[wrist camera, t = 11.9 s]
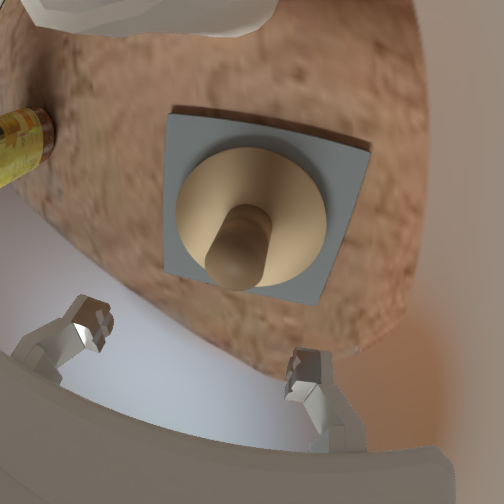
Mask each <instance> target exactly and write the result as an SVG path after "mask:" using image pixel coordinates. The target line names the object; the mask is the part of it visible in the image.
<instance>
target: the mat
mask: <svg viewBox="0 0 504 504" xmlns="http://www.w3.org/2000/svg"><path fill="white" fill-rule="evenodd" d="M237 147H259V148H265V149H269V150H272V151H275V152H278V153H280V154H283V155H285V156H286V157H288V158H290V159H292V160H293V161H295V162H296V163H297V164H298V165H300V166H301V167H302V168H303V169H304V170H305V171H306V172H307V173H308V174H309V175H310V176H311V178H312V179H313V181H314V182H315V183H316V185H317V187H318V189H319V191H320V193H321V196H322V199H323V202H324V207H325V212H326V222H327V227H326V235H325V239H324V243H323V245H322V248H321V250H320V252H319V254H318V255H317V257H316V259H315V260H314V261H313V262H312V263H311V265H310V266H309V267H307V268H306V269H305V270H304V271H303V272H302V273H300V274H299V275H297V276H296V277H294V278H292V279H290V280H288V281H285V282H282V283H279V284H275V285H270V286H261V287H253V288H251V289H248V290H244V292H249V293H253V294H258V295H262V296H267V297H272V298H277V299H281V300H286V301H291V302H296V303H301V304H306V305H311V306H316V305H317V302H318V300H319V298H320V295H321V293H322V291H323V288H324V286H325V283H326V281H327V278H328V276H329V273H330V271H331V268H332V266H333V263H334V261H335V258H336V255H337V253H338V250H339V247H340V245H341V242H342V239H343V237H344V234H345V231H346V228H347V226H348V223H349V220H350V217H351V214H352V211H353V208H354V205H355V202H356V199H357V196H358V193H359V190H360V187H361V184H362V181H363V178H364V175H365V171H366V168H367V165H368V161H369V158H370V155H371V153H370V152H369V151H367V150H364V149H361V148H358V147H354V146H351V145H347V144H344V143H340V142H337V141H333V140H329V139H325V138H321V137H317V136H313V135H309V134H305V133H301V132H296V131H292V130H287V129H282V128H277V127H272V126H267V125H261V124H256V123H250V122H244V121H238V120H231V119H224V118H216V117H208V116H199V115H189V114H178V113H169V114H167V125H166V139H165V157H164V182H163V252H164V273H168V274H172V275H176V276H180V277H184V278H188V279H192V280H197V281H201V282H205V283H209V284H213V285H218V284H216V283H215V282H214V281H213V280H212V279H211V278H210V277H209V275H208V274H207V272H206V270H205V269H204V268H203V267H202V266H200V265H199V264H198V263H197V262H196V261H195V260H194V259H193V258H192V256H191V255H190V254H189V252H188V251H187V249H186V248H185V246H184V245H183V243H182V240H181V238H180V236H179V233H178V230H177V225H176V218H175V208H176V201H177V197H178V194H179V191H180V189H181V186H182V185H183V183H184V181H185V180H186V178H187V177H188V176H189V174H190V173H191V172H192V171H193V170H194V169H195V168H196V167H197V166H199V165H200V164H201V163H202V162H203V161H204V160H206V159H207V158H209V157H211V156H212V155H214V154H216V153H219V152H221V151H224V150H227V149H231V148H237ZM218 286H219V285H218Z"/></svg>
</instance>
